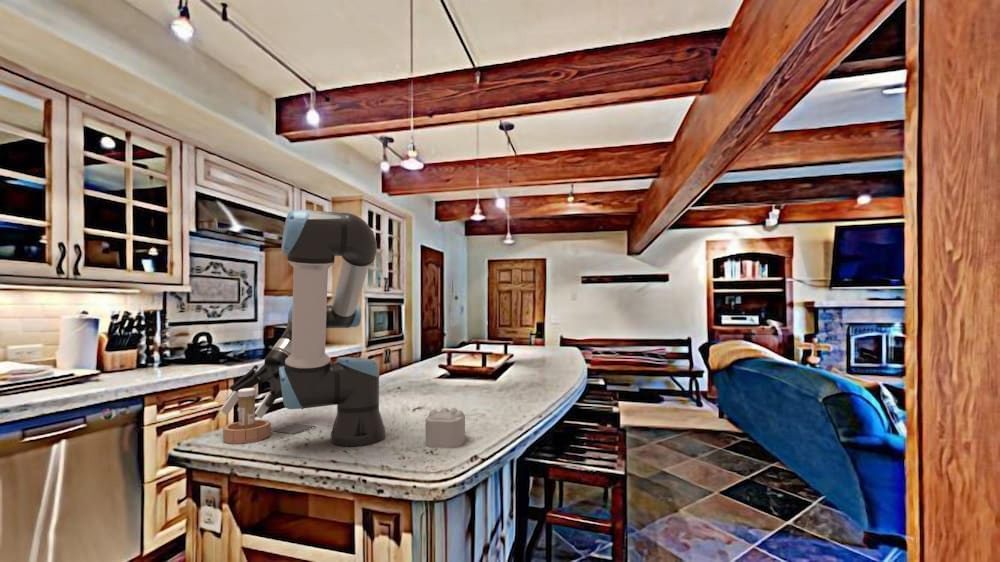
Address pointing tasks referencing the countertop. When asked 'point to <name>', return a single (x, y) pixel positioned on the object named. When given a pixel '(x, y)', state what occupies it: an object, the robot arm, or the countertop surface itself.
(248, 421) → the sprinkles bottle
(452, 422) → the lumpy-topped squat cylinder
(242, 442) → the terracotta bowl
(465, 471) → the countertop surface
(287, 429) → the rubber mat
